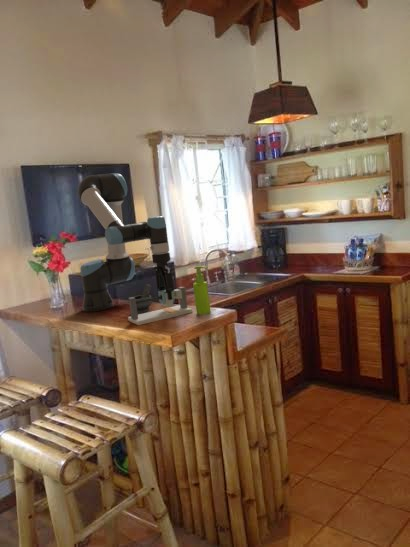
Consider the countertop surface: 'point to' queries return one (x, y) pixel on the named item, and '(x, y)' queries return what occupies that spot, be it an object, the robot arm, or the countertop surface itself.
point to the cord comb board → (161, 313)
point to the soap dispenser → (201, 293)
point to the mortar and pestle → (144, 306)
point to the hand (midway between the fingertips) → (167, 305)
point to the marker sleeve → (164, 296)
